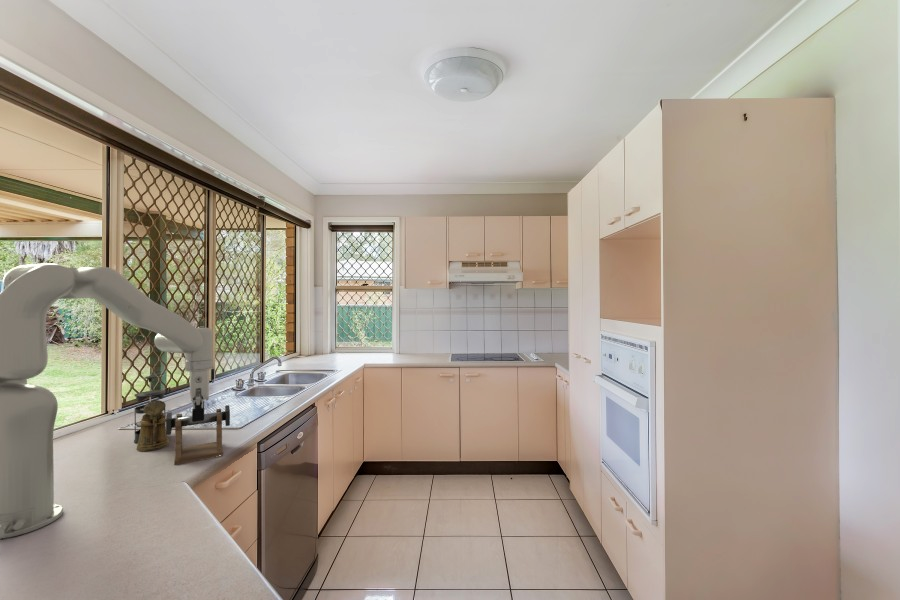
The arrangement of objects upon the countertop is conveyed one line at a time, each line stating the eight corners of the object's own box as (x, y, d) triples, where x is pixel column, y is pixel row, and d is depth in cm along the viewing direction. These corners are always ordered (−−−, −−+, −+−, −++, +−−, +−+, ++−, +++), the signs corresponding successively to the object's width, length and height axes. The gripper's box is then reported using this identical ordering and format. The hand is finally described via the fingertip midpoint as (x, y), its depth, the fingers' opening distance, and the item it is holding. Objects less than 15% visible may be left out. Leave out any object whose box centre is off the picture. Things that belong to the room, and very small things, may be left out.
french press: (168, 440, 142) (167, 376, 142) (134, 446, 136) (134, 380, 135) (164, 431, 151) (163, 372, 150) (132, 437, 144) (132, 375, 144)
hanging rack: (222, 455, 128) (222, 416, 128) (174, 464, 121) (174, 422, 121) (221, 444, 138) (221, 407, 138) (176, 451, 131) (176, 413, 131)
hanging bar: (229, 425, 132) (229, 410, 131) (166, 435, 122) (165, 419, 122) (229, 419, 136) (229, 405, 135) (167, 428, 127) (167, 412, 126)
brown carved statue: (137, 458, 126) (137, 402, 126) (135, 445, 136) (135, 394, 136) (171, 451, 132) (171, 397, 132) (167, 439, 142) (167, 390, 142)
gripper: (212, 368, 124) (212, 422, 123) (211, 361, 138) (211, 409, 138) (183, 370, 120) (183, 426, 120) (186, 362, 134) (185, 412, 134)
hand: (198, 417), depth 129 cm, fingers open, 9 cm apart
